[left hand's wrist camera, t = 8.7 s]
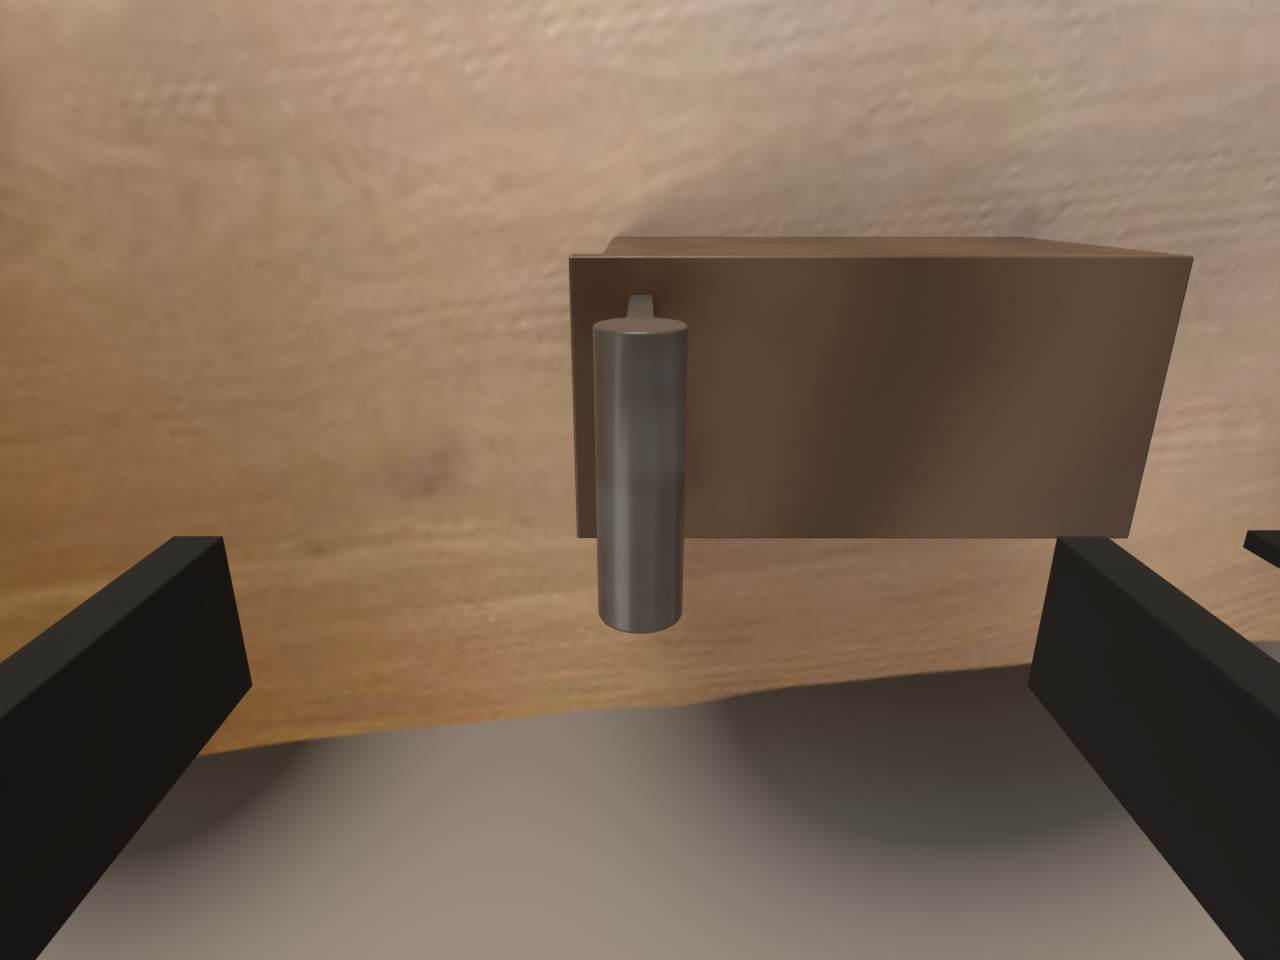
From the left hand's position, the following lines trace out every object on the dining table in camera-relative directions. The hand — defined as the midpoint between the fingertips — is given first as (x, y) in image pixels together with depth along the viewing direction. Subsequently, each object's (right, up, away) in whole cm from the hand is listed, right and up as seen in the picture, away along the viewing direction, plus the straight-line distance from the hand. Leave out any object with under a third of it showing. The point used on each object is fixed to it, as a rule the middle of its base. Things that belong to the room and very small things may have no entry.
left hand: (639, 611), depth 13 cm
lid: (+7, +5, +13) cm, 16 cm away
